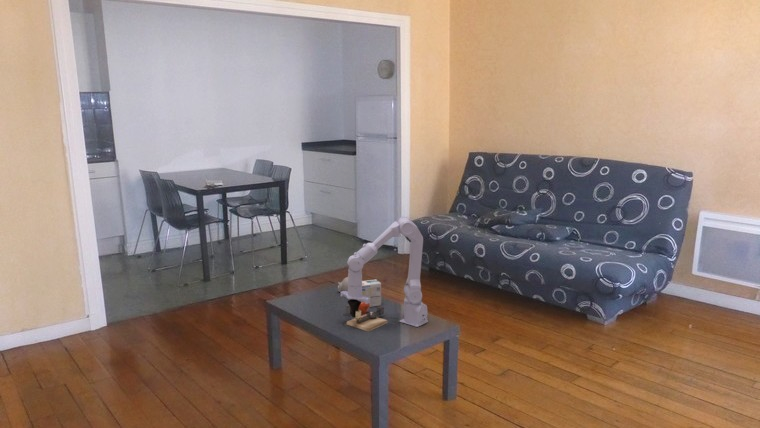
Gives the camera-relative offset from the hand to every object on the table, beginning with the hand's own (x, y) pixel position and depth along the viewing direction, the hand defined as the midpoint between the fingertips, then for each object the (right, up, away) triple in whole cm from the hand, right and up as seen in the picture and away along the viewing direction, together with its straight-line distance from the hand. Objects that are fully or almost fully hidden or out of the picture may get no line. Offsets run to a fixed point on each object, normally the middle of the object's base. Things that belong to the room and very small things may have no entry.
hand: (354, 316), depth 235 cm
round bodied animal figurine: (-5, +3, +40) cm, 41 cm away
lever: (+6, -1, +4) cm, 7 cm away
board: (+5, -3, +2) cm, 6 cm away
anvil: (-3, -1, +14) cm, 14 cm away
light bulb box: (+5, +1, +25) cm, 25 cm away
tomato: (+2, -1, +13) cm, 13 cm away
